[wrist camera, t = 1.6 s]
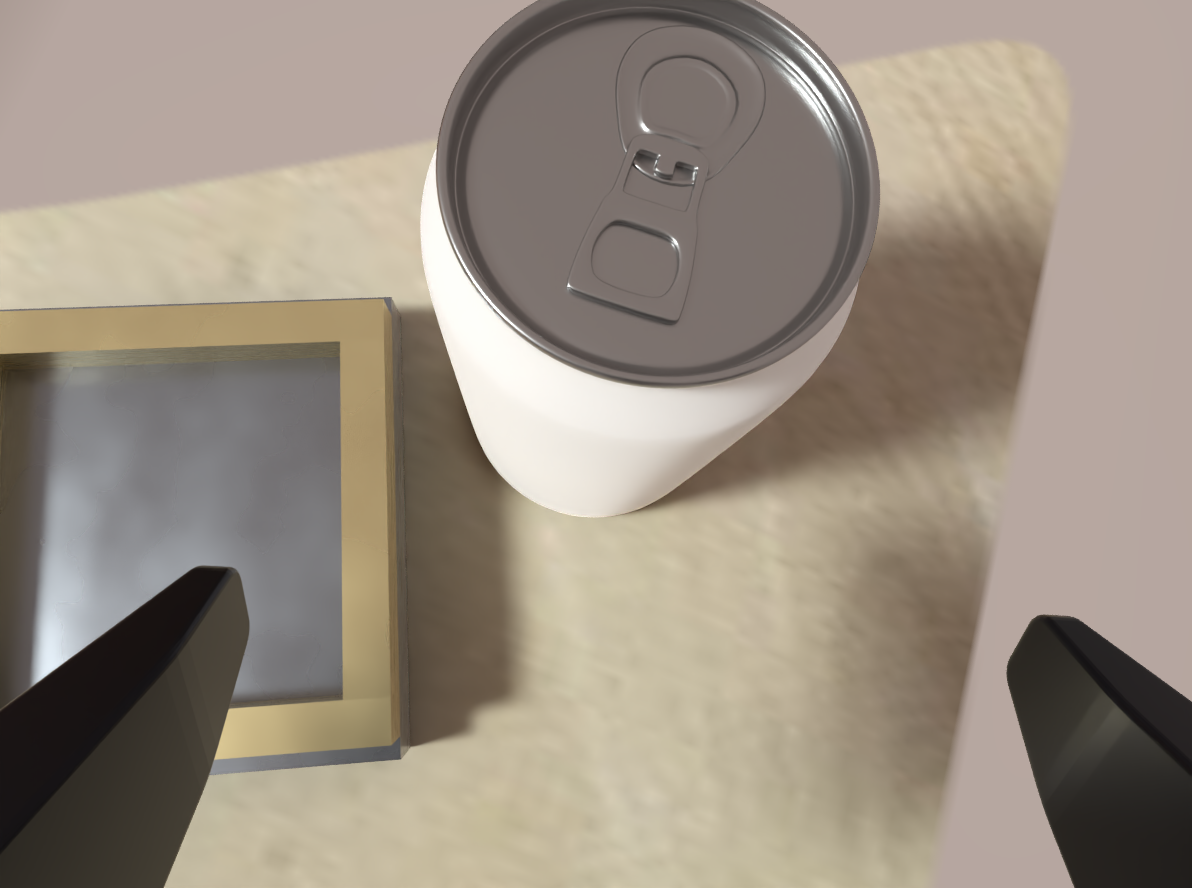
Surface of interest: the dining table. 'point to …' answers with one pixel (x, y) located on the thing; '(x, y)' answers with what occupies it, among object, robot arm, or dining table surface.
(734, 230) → the can
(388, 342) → the gold square coaster
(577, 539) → the dining table surface
